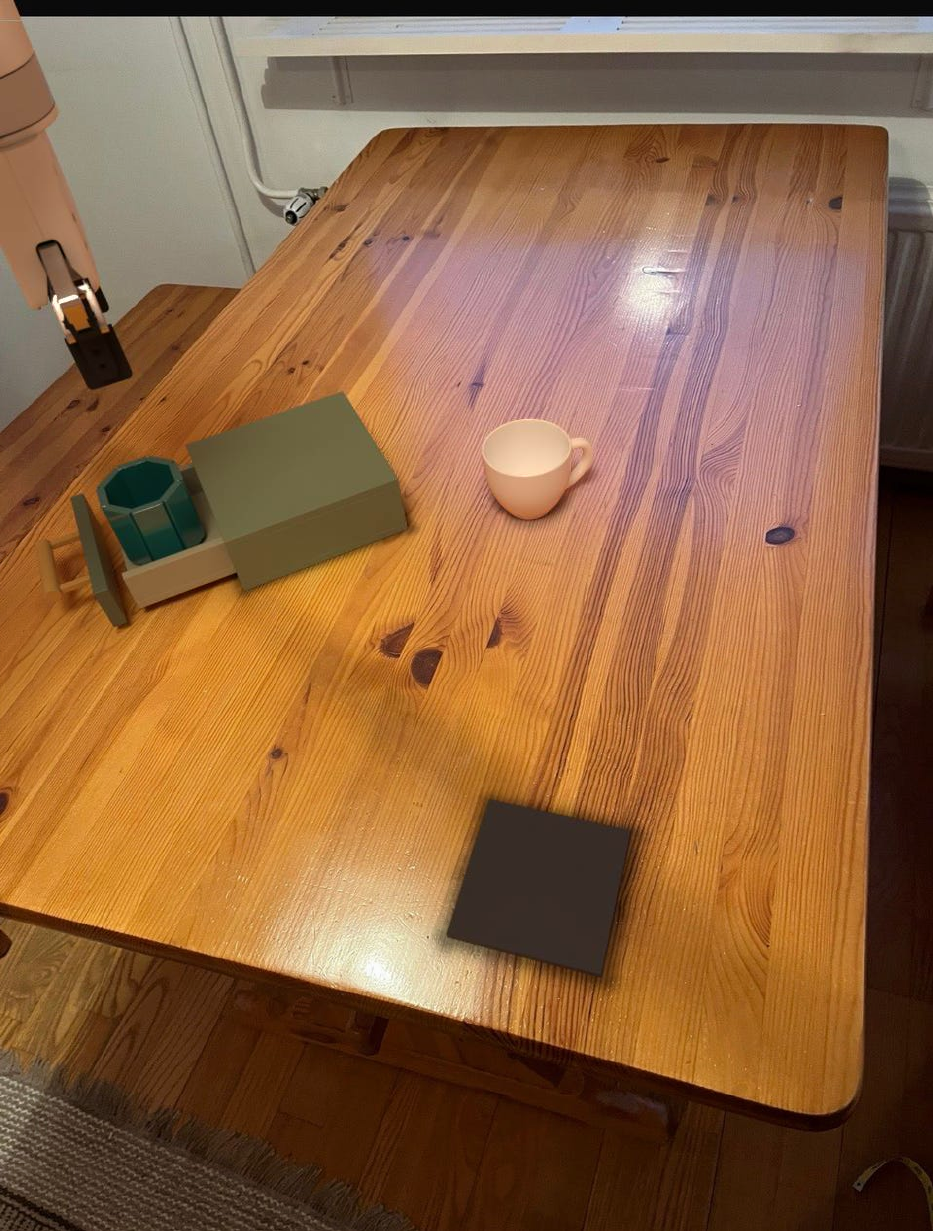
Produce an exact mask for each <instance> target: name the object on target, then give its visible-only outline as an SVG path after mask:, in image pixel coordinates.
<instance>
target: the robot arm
mask: <svg viewBox="0 0 933 1231" xmlns="http://www.w3.org/2000/svg"><path fill="white" fill-rule="evenodd" d="M0 20H22V18H21V15H20V14H19V10H18V8H17V6H16V3H15V1H14V0H0ZM59 113H60V112H59V107H58V104H57V103H56V101H55V98H54V96H53V93H52V90H51V88H50V86H49V83H48V81H47V78H46V76H45V73H44V71H43V69H42V67H41V64H40V61H39V59H38V56H37V53H36V52H35V50H34V47H33V44H32V42H31V40H30V37H29V35H28V32H27V30H26V27H25V25H24V23H23V20H22V21H0V249H1V250H2V253H3V255H4V256H5V259H6V261H7V263H8V265H9V267H10V269H11V271H12V274H13V276H14V277H15V280H16V282H17V284H18V286H19V288H20V290H21V293H22V295H23V297H24V299H25V301H26V303H27V305H28V307H30V308H31V309H33V310H34V311H41V310H42V307H45V306H48V305H49V303H50V304H51V306H52V309H53V311H54V313H55V316H56V318H57V320H58V323H59V325H60V328H61V330H62V332H63V334H64V343H65V345H66V347H67V349H68V350H69V353H70V355H71V357H72V359H73V361H74V363H75V365H76V367H77V369H78V371H79V373H80V375H81V376H82V380H83V381H84V382H85V385H86V387H87V389H89V390H92V391H95V390H98V389H102V388H104V387H108V386H110V385H114V384H117V383H120V382H123V381H125V380H128V379H130V378H132V377H133V374H134V373H133V369H132V367H131V365H130V362H129V360H128V358H127V356H126V354H125V351H124V349H123V347H122V345H121V342H120V340H119V338H118V335H117V333H116V331H115V328H114V327H113V324H112V323H107V320H106V319H105V316H104V314H105V313H108V311H109V310H110V306H109V302H108V300H107V297H105V293H104V292H103V289H102V287H101V280H100V276H99V273H98V269H97V266H96V262H95V260H94V259H95V258H94V255H93V253H92V249H91V246H90V242H89V239H88V236H87V233H86V230H85V227H84V224H83V221H82V217H81V215H80V212H79V209H78V207H77V204H76V201H75V198H74V196H73V193H72V191H71V189H70V188H71V187H70V185H69V184H68V180H67V178H66V176H65V174H64V171H63V169H62V166H61V164H60V162H59V159H58V157H57V154H56V152H55V150H54V147H53V144H52V142H51V140H50V138H49V135H48V133H47V130H46V129H47V128H49V127H50V126H51V125H52V124H53V123H54V122H55V121H56V119H57V117H58V116H59Z"/></svg>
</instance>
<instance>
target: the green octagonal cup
mask: <svg viewBox="0 0 933 1231" xmlns="http://www.w3.org/2000/svg"><path fill="white" fill-rule="evenodd" d="M95 491H96V495H97V500H98V502H99V506H100V509H101V511H102V512H103V515H104V516H105V518H106V520H107V522H108V524H109V526H110V528H111V530H112V531H113V534H115V537H116V539H117V541H118V544H119V543H120V544H121V546H122V548H123V550H124V552H125V554H126V556H127V558H128V559H129V560H130V561H131V562H132V563H137V564H141V565H145V564H148V563H151V562H154V561H156V560H159V559H162V558H165V557H167V556H170V555H173V554H176V553H178V552H181V551H184V550H187V549H189V548H192V547H195V546H197V545H198V544H199V543H200V541H201V540H202V539H203V538H204V536H205V534H204V533H206V532H205V529H204V526H203V524H202V521H201V519H200V516H199V514H198V511H197V509H196V507H195V504H194V502H193V500H192V497H191V495H190V493H189V490H188V488H187V486H186V483H185V481H184V479H183V476H182V474H181V472H180V469H179V464H178V462H177V461H175V460H174V459H169V458H165V457H159V456H154V455H148V456H147V455H145V456H142V457H138V458H136V459H133V460H130V461H127V462H124V463H120V464H117V465H116V467H113V468H112V469H111V471H110V472H109V473H108V474H107V475H106V476H105V477H104V478H103V479H102V480H101V481H100V483H99V484H98V485H97V486H96V490H95ZM120 544H119V545H120Z"/></svg>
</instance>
